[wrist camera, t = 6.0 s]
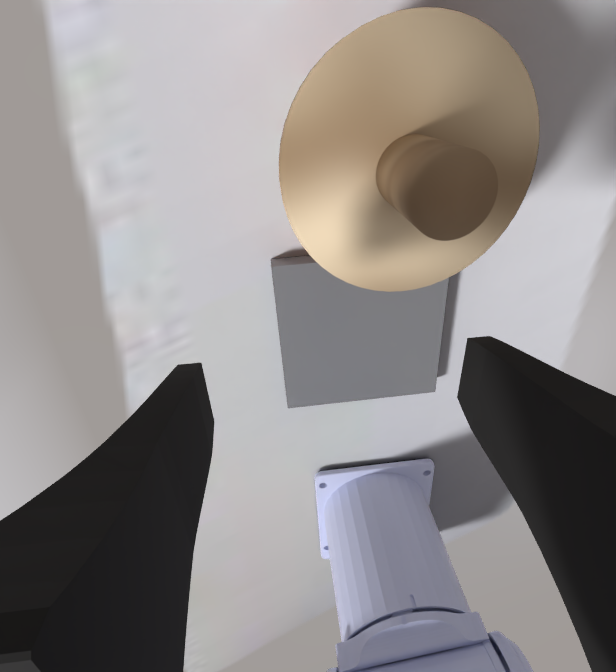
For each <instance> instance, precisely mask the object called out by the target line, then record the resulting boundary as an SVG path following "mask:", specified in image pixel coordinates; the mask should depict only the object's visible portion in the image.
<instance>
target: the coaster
mask: <svg viewBox="0 0 616 672" xmlns="http://www.w3.org/2000/svg"><path fill="white" fill-rule="evenodd" d="M271 268H272V277H273V285H274V294H275V302H276V311H277V319H278V328H279V336H280V345H281V354H282V362H283V371H284V379H285V388H286V396H287V405H288V408H295V407H304V406H313V405H322V404H331V403H340V402H349V401H358V400H367V399H376V398H384V397H393V396H402V395H411V394H420V393H429V392H435V388H436V380H437V372H438V364H439V356H440V347H441V339H442V331H443V323H444V315H445V306H446V298H447V290H448V282H449V278H447V279H445V280H442V281H440V282H437V283H435V284H432V285H429V286H426V287H422V288H418V289H413V290H407V291H393V292H386V291H375V290H370V289H365V288H361V287H358V286H355V285H352V284H349V283H347V282H345V281H343V280H341V279H339V278H337V277H335V276H334V275H332V274H331V273H329V272H328V271H327V270H325V269H324V268H322V267H321V266H320V265H319V264H318V263H317V262H316V261H315V260H314V259H313V258H312V257H311V256H299V257H288V258H278V259H271Z"/></svg>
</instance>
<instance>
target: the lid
mask: <svg viewBox="0 0 616 672" xmlns="http://www.w3.org/2000/svg"><path fill="white" fill-rule="evenodd" d="M539 128H540V125H539V113H538V105H537V101H536V96H535V91H534V88H533V85H532V82H531V80H530V77H529V74H528V72H527V70H526V68H525V66H524V65H523V63H522V61H521V59H520V57H519V56H518V54H517V53H516V52H515V50H514V49H513V48H512V47H511V45H510V44H509V43H508V42H507V41H506V40H505V39H504V38H503V37H502V36H501V35H500V34H499V33H498V32H497V31H495V30H494V29H493V28H492V27H490V26H488V25H487V24H485V23H484V22H482V21H480V20H479V19H477V18H475V17H472V16H470V15H467V14H465V13H462V12H459V11H454V10H450V9H445V8H432V7H419V8H412V9H405V10H400V11H396V12H393V13H390V14H387V15H383V16H381V17H379V18H377V19H374V20H372V21H370V22H368V23H366V24H364V25H362V26H361V27H359V28H358V29H356V30H355V31H353V32H352V33H350V34H349V35H347V36H346V37H344V38H343V39H341V40H340V41H339V42H338V43H337V44H335V45H334V46H333V47H332V48H331V49H330V50H329V51H328V52H326V53H325V54H324V56H323V57H322V58H321V59H320V60H319V61H318V62H317V64H316V65H315V66H314V67H313V68H312V69H311V71H310V73H309V74H308V76H307V77H306V79H305V80H304V82H303V83H302V85H301V86H300V88H299V90H298V92H297V94H296V96H295V98H294V100H293V102H292V104H291V107H290V110H289V112H288V115H287V118H286V121H285V124H284V129H283V133H282V138H281V143H280V153H279V180H280V187H281V193H282V199H283V203H284V207H285V210H286V214H287V217H288V219H289V222H290V224H291V226H292V229H293V231H294V233H295V234H296V236H297V238H298V240H299V241H300V243H301V245H302V246H303V247H304V248H305V250H306V251H307V252H308V253H309V255H310V256H311V257H312V258H313V259H314V260H315V261H316V262H317V263H318V264H319V265H320V266H321V267H322V268H324V269H325V270H327V271H328V272H329V273H331V274H332V275H334V276H335V277H337V278H339V279H341V280H343V281H345V282H347V283H349V284H352V285H355V286H358V287H361V288H365V289H370V290H375V291H386V292H393V291H407V290H413V289H418V288H422V287H426V286H429V285H432V284H435V283H437V282H440V281H442V280H445V279H447V278H449V277H451V276H453V275H454V274H456V273H458V272H460V271H461V270H463V269H464V268H466V267H467V266H469V265H470V264H472V263H473V262H474V261H475V260H477V259H478V258H479V257H480V256H481V255H483V254H484V253H485V252H486V251H487V250H488V249H489V248H490V247H491V246H492V245H493V244H494V243H495V242H496V241H497V239H498V238H499V237H500V236H501V234H502V233H503V232H504V231H505V229H506V228H507V227H508V225H509V224H510V222H511V221H512V219H513V218H514V216H515V215H516V213H517V211H518V209H519V207H520V205H521V203H522V201H523V199H524V197H525V195H526V192H527V190H528V187H529V185H530V182H531V179H532V176H533V172H534V168H535V165H536V160H537V153H538V147H539Z"/></svg>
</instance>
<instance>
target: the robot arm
mask: <svg viewBox="0 0 616 672" xmlns="http://www.w3.org/2000/svg"><path fill="white" fill-rule="evenodd" d="M457 398H458V400H459V402H460V405H461V407H462V410H463V412H464V415H465V417H466V419H467V421H468V423H469V425H470V428H471V429H472V431H473V433H474V435H475V436H476V438H477V440H478V441H479V443H480V444H481V446H482V448H483V449H484V451H485V453H486V454H487V456H488V457H489V459H490V461H491V462H492V464H493V465H494V467H495V469H496V470H497V472H498V473H499V475H500V477H501V478H502V480H503V482H504V483H505V485H506V486H507V488H508V490H509V491H510V493H511V494H512V496H513V498H514V499H515V501H516V503H517V505H518V506H519V508H520V510H521V511H522V513H523V515H524V517H525V519H526V521H527V523H528V525H529V528H530V529H531V531H532V534H533V536H534V538H535V540H536V541H537V544H538V546H539V548H540V550H541V552H542V554H543V557H544V559H545V561H546V563H547V565H548V567H549V570H550V572H551V574H552V576H553V578H554V581H555V583H556V585H557V587H558V589H559V592H560V594H561V596H562V599H563V601H564V604H565V606H566V608H567V611H568V613H569V615H570V618H571V620H572V623H573V625H574V627H575V630H576V632H577V634H578V637H579V639H580V642H581V644H582V647H583V649H584V652H585V655H586V657H587V660H588V663H589V665H590V668H591V670H592V672H616V396H614V395H612V394H609V393H607V392H605V391H603V390H601V389H598V388H596V387H594V386H592V385H589V384H587V383H585V382H583V381H581V380H578V379H576V378H574V377H572V376H570V375H568V374H566V373H564V372H562V371H560V370H558V369H556V368H554V367H552V366H550V365H548V364H546V363H544V362H542V361H540V360H538V359H536V358H534V357H532V356H530V355H528V354H526V353H524V352H522V351H520V350H518V349H516V348H514V347H512V346H510V345H508V344H506V343H504V342H502V341H500V340H498V339H495V338H493V337H490V336H486V337H475V338H467V344H466V350H465V356H464V362H463V367H462V373H461V379H460V385H459V391H458V396H457ZM213 433H214V418H213V414H212V409H211V405H210V400H209V396H208V391H207V387H206V382H205V378H204V373H203V368H202V364H201V363H192V364H181V365H177V366H176V367H175V368H174V370H173V371H172V372H171V373H170V374H169V375H168V376H167V377H166V378H165V380H164V381H163V382H162V383H161V384H160V385H159V386H158V387H157V389H156V390H155V391H154V392H153V393H152V394H151V395H150V396H149V398H148V399H147V400H146V401H145V402H144V403H143V404H142V405H141V406H140V407H139V408H138V409H137V410H136V412H135V413H134V414H133V415H132V416H131V417H130V418H129V419H128V420H127V421H126V422H125V423H124V424H123V425H121V426H120V428H118V429H117V430H116V431H115V432H114V433H113V434H112V435H111V436H110V437H109V438H108V439H107V440H106V441H105V442H104V443H103V444H102V445H101V446H100V447H98V448H97V449H96V450H95V451H94V452H93V453H91V454H90V455H89V456H88V457H87V458H86V459H85V460H83V461H82V462H81V463H79V464H78V465H77V466H76V467H75V468H73V469H72V470H71V471H70V472H68V473H67V474H66V475H65V476H63V477H62V478H61V479H59V480H58V481H56V482H55V483H54V484H52V485H51V486H50V487H48V488H47V489H45V490H44V491H43V492H41V493H40V494H39V495H37V496H36V497H34V498H33V499H32V500H31V501H29V502H27V503H26V504H25V505H23V506H22V507H20V508H19V509H18V510H16V511H14V512H13V513H11V514H10V515H8V516H7V517H5V518H4V519H2V520H1V521H0V672H183V666H184V651H185V637H186V625H187V614H188V602H189V591H190V581H191V571H192V561H193V551H194V545H195V539H196V533H197V528H198V523H199V518H200V513H201V508H202V503H203V498H204V493H205V488H206V483H207V478H208V473H209V468H210V463H211V457H212V448H213ZM434 468H435V466H434V463H433V461H432V460H431V459H419V460H410V461H402V462H394V463H385V464H377V465H368V466H360V467H352V468H343V469H335V470H326V471H320V472H318V473H316V475H315V488H316V500H317V513H318V525H319V537H320V549H321V556H322V558H324V559H330V563H331V570H332V577H333V584H334V591H335V598H336V605H337V612H338V619H339V626H340V633H341V640H342V642H341V643H338V644H336V653H337V661H338V667H336V668H330V669H328V670H327V671H326V672H533V670H532V668H531V666H530V664H529V662H528V661H527V659H526V657H525V656H524V654H523V653H522V651H521V650H520V648H519V647H518V646H517V645H516V644H515V643H514V642H512V641H511V640H509V639H508V638H506V637H505V636H504V635H503V634H502V633H501V632H499V631H493V632H490V633H487V632H486V629H485V627H484V624H483V622H482V620H481V617H480V615H479V613H478V612H471V610H470V608H469V606H468V603H467V600H466V598H465V596H464V593H463V590H462V588H461V585H460V583H459V580H458V578H457V575H456V573H455V570H454V568H453V565H452V563H451V560H450V558H449V555H448V553H447V550H446V548H445V545H444V543H443V540H442V538H441V535H440V533H439V530H438V528H437V525H436V523H435V520H434V518H433V515H432V513H431V510H430V508H429V504H430V497H431V489H432V482H433V475H434Z"/></svg>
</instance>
